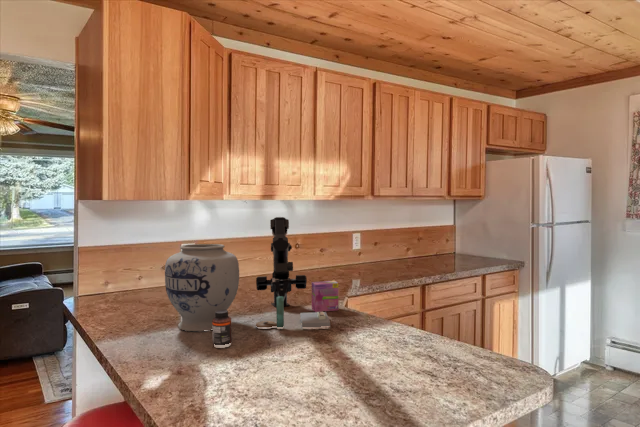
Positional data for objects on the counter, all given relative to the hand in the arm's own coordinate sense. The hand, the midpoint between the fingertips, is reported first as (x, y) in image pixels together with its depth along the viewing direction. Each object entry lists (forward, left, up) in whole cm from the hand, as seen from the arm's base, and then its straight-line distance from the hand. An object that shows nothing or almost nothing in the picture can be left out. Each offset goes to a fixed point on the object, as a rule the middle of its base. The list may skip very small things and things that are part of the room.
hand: (282, 302), depth 157 cm
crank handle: (-2, -4, -9) cm, 10 cm away
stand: (+1, +12, -9) cm, 16 cm away
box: (-15, +25, -10) cm, 31 cm away
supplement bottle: (+10, -24, -10) cm, 28 cm away
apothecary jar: (-16, -25, -10) cm, 31 cm away
